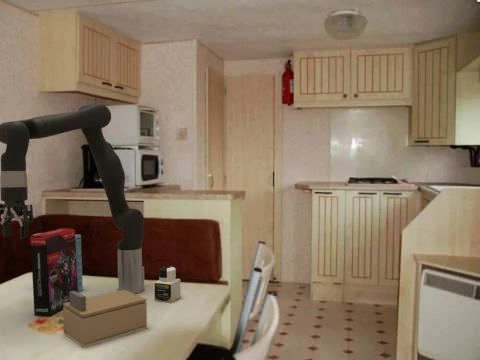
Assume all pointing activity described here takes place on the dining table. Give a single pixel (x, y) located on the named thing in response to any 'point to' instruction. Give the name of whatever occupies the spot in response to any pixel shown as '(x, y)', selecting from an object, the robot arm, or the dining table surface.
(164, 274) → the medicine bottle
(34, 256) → the graphics card box
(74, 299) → the lid
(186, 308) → the dining table surface
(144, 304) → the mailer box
